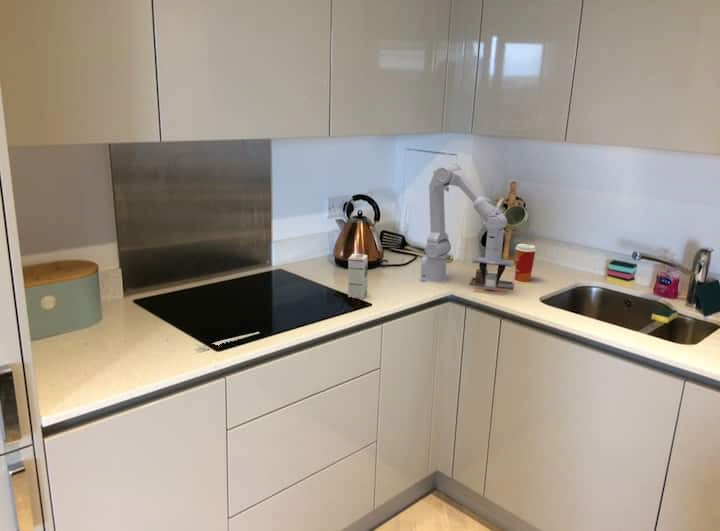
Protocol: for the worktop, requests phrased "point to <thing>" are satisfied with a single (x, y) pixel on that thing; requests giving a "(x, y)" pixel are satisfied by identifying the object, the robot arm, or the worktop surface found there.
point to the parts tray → (500, 285)
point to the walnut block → (479, 276)
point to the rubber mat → (481, 290)
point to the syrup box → (357, 275)
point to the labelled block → (490, 281)
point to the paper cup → (524, 262)
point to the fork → (227, 340)
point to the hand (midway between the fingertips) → (490, 283)
